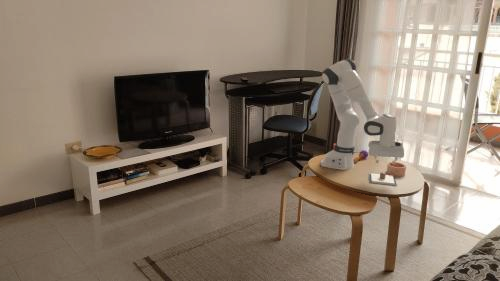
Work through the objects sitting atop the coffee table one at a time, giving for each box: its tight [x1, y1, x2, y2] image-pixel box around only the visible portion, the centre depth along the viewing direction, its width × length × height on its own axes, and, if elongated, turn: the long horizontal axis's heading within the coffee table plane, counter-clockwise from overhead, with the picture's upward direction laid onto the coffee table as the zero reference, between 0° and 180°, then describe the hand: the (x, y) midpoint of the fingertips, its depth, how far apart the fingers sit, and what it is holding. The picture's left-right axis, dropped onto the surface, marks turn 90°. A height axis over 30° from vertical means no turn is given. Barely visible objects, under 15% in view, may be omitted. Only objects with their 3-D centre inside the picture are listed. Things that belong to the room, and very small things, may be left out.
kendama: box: [353, 149, 369, 165], centre depth 271 cm, size 6×6×20 cm
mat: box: [368, 173, 398, 187], centre depth 236 cm, size 16×16×1 cm
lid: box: [370, 171, 395, 186], centre depth 235 cm, size 13×13×4 cm
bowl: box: [386, 161, 407, 177], centre depth 247 cm, size 11×11×6 cm
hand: (385, 163), depth 232 cm, fingers open, 8 cm apart
